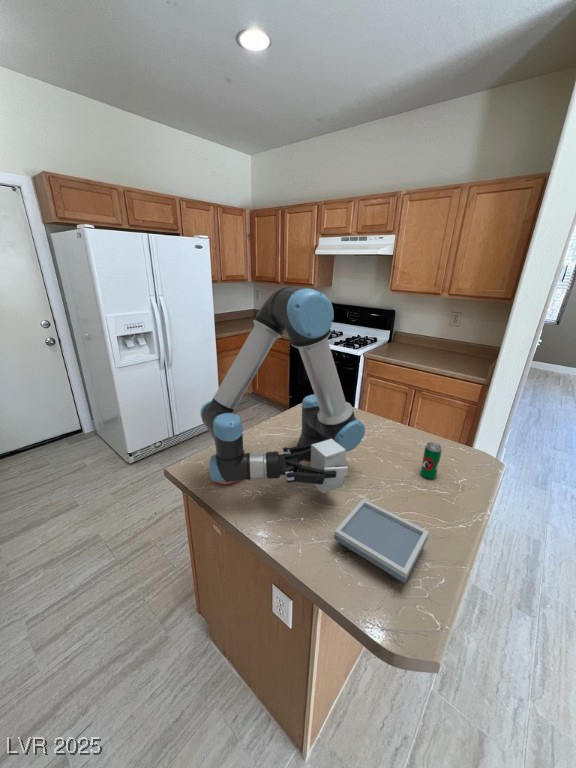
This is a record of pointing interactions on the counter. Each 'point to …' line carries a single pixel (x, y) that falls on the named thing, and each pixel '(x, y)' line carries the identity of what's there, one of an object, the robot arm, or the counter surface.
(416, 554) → the shallow rimmed tray
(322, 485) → the supplement box
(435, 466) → the soda can
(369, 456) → the counter surface
